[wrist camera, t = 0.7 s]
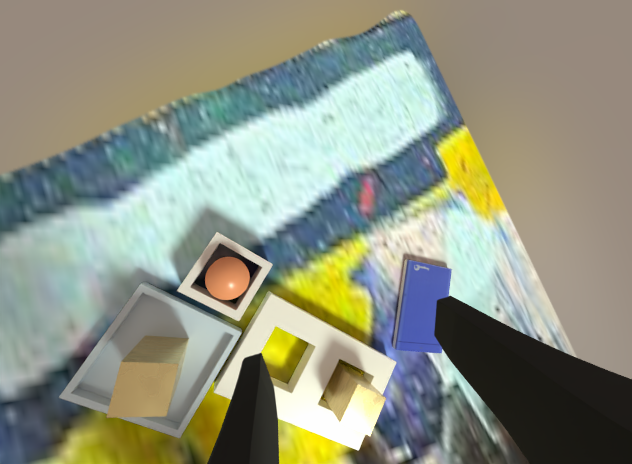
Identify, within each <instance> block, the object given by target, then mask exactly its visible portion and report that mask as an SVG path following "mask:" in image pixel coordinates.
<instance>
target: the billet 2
mask: <svg viewBox="0 0 632 464" xmlns="http://www.w3.org/2000/svg"><path fill="white" fill-rule="evenodd" d="M322 395H323V397H324V399H325V400H326V402H327V403H328V405H329V406H330V408H331V410H332V411H333V413H334V414H335V416H336V417H337V419H338V420H339V422H340V423H341V424H343V425H346V426H348V427H350V428H353V429H355V430H357V431H360V432H362V433H364V434H367V435H369V436H370V435H371V432H372V430H373V428H374V425H375V423H376V421H377V418H378V416H379V414H380V411H381V409H382V407H383V404H384V402H385V400H386V398H385V397H384V396H383V395H382V394H381V393H380V392H379V391H378V390H377V389H376V388H375V387H374V386H373V385H372V384H371V383H370V382H369V381H368V380H367V379H366V378H365V377H363V376H362V375H361V374H360V373H359V372H358V371H356V370H354V369H352V368H350V367H348V366H346V365H344V364H342V363H340V362H338V363H337V365H336V367H335V369H334V371H333V374H332V376H331V378H330V380H329V382H328V384H327V386H326V388H325V390H324V392H323V394H322Z"/></svg>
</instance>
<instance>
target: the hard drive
mask: <svg viewBox="0 0 632 464" xmlns="http://www.w3.org/2000/svg"><path fill="white" fill-rule="evenodd" d="M451 270H452V269H450V268H445V267H441V266H436V265H431V264H427V263H422V262H418V261H413V260H408V259H405V261H404V268H403V275H402V282H401V289H400V296H399V304H398V311H397V318H396V325H395V333H394V340H393V348H394V349H396V350H403V351H416V352H431V353H442V347H441V345H440V344H439V342H438V341H437V339H436V338H435V336H434V330H435V317H436V305H437V300H438V299H442V298H445V297H448V295H449V287H450V279H451Z"/></svg>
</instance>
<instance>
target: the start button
mask: <svg viewBox="0 0 632 464" xmlns="http://www.w3.org/2000/svg"><path fill="white" fill-rule="evenodd" d="M249 280H250V275H249V271H248V269H247V267H246V265H245V264H244V263H243V262H242V261H241V260H239V259H237V258H235V257H230V256H227V257H222V258H219V259H218V260H216V261H215V262H214V263H213V264H212V265H211V266H210V267H209V269H208V270H207V273H206V276H205V284H206V287H207V289H208V291H209V292H210V294H211V295H213V296H214V297H216V298H218V299H221V300H231V299H234V298H237V297H238V296H240V295H241V294H242V293H243V292H244V291H245V290H246V289H247V287H248V284H249Z"/></svg>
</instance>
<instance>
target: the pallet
mask: <svg viewBox="0 0 632 464" xmlns="http://www.w3.org/2000/svg"><path fill="white" fill-rule="evenodd" d="M275 326H277V327H279V328H281V329H283V330H285V331H287V332H289V333H291V334H293V335H294V336H296V337H298V338H300V339H302V340H304V341H306V342H308V343H309V344H308V346H307V348H306V350H305V352H304V354H303V356H302V358H301V360H300V362H299V364H298V365H297V367H296V369H295V371H294V373H293V375H292V377H291V379H290V381H289V383H288V384H286V383H284V382H282V381H280V380H277V379H275V378H273V377H271V376H270V377H271V380H272V383H273V385H274V391H275V399H276V407H277V416H278V418H279V419H281V420H284V421H286V422H289V423H291V424H294V425H296V426H299V427H301V428H304V429H306V430H309V431H311V432H314V433H316V434H319V435H321V436H324V437H326V438H329V439H331V440H334V441H336V442H339V443H341V444H344V445H346V446H349V447H351V448H354V449H356V450H359V448H360V446H361V443H362V441H363V439H364V436H365V434H364V433H362V432H360V431H357V430H355V429H353V428H350V427H348V426H346V425H343V424H341V423H340V422H339V420H338V419H337V417H336V416H335V414H334V413H333V411H332V410H331V408H330V406H329V405H328V403H327V402H326V401H324V400H322V399H320V398H321V396H322V394H323V392H324V390H325V388H326V386H327V384H328V382H329V380H330V378H331V376H332V374H333V371H334V369H335V367H336V365H337V363H338V361H339V359H341V360H343V361H345V362H347V363H349V364H351V365H353V366H355V367H357V368H359V369H361V370H363V371H365V372H364V374H363V377H365V378H366V379H367V380H368V381H369V382H370V383H371V384H372V385H373V386H374V387H375V388H376V389H377V390H378V391H379V392H380V393H381V394H382V395H383V392H384V390H385V388H386V385H387V383H388V381H389V378H390V376H391V374H392V371H393V369H394V367H395V364H396V362H395V361H394V360H392V359H391V358H389V357H388V356H386V355H385V354H383V353H381V352H379V351H377V350H375V349H374V348H372V347H370V346H368V345H366V344H365V343H363V342H361V341H359V340H357V339H355V338H354V337H352V336H350V335H348V334H346V333H344V332H343V331H341V330H339V329H337V328H335V327H334V326H332V325H330V324H328V323H326V322H324V321H323V320H321V319H319V318H317V317H315V316H314V315H312V314H310V313H308V312H306V311H304V310H303V309H301V308H299V307H297V306H295V305H294V304H292V303H290V302H288V301H286V300H284V299H283V298H281V297H279V296H277V295H275V294H273V293H272V292H270V291H268V292H267V294H266V296H265V297H264V299H263V301H262V303H261V304H260V306H259V308H258V309H257V311H256V313H255V314H254V316H253V318H252V320H251V321H250V323H249V325H248V326H247V328H246V330H245V331H244V333H243V335H242V337H241V338H240V340H239V342H238V343H237V345H236V347H235V348H234V350H233V352H232V354H231V355H230V357H229V359H228V360H227V362H226V364H225V366H224V367H223V369H222V371H221V372H220V374H219V376H218V377H217V379H216V381H215V384H214V393H216V394H219V395H221V396H224V397H226V398H229V399H232V396H233V393H234V389H235V386H236V383H237V380H238V376H239V372H240V369H241V365H242V361H243V359H244V358H246V357H249V356H252V355H255V354H259V353H261V351H262V349H263V347H264V346H265V344H266V342H267V340H268V338H269V337H270V335H271V333H272V331H273V330H274V328H275Z"/></svg>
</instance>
